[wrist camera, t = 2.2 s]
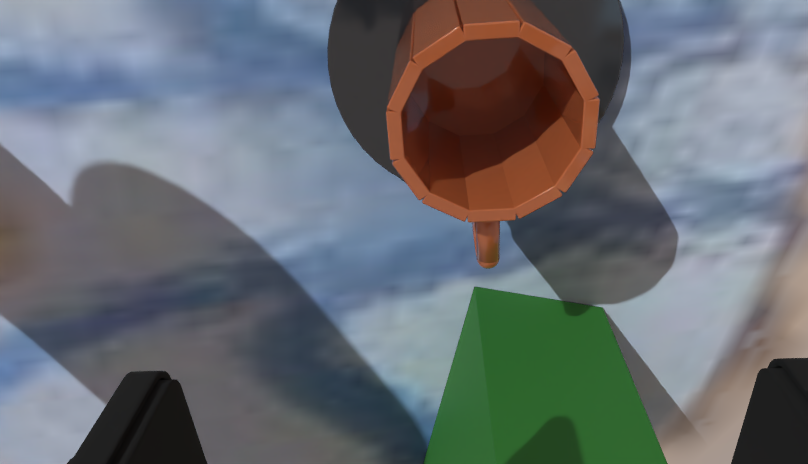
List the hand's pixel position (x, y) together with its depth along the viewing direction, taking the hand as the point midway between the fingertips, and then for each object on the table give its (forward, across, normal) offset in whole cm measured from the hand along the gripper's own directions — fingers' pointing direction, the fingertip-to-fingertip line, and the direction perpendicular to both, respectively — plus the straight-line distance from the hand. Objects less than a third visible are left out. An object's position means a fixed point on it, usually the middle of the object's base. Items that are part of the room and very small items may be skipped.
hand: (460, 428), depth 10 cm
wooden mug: (+20, -1, +1) cm, 20 cm away
